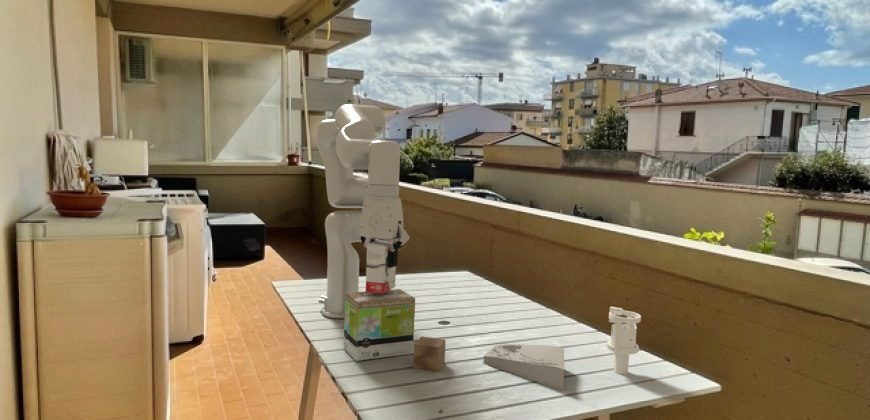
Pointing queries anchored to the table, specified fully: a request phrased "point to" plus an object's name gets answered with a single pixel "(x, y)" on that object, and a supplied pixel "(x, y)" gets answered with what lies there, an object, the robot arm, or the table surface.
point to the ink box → (379, 268)
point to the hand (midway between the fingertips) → (381, 264)
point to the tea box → (379, 324)
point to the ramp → (530, 362)
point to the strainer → (623, 337)
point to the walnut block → (429, 354)
